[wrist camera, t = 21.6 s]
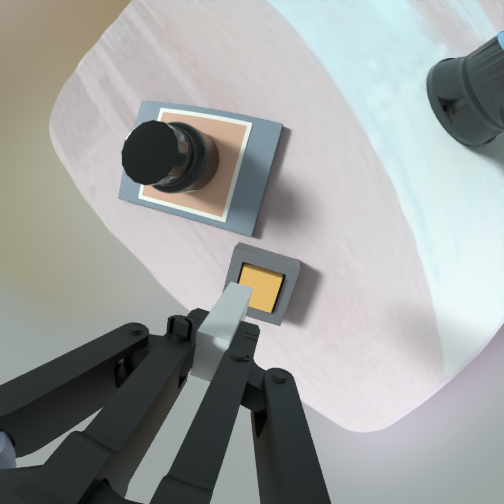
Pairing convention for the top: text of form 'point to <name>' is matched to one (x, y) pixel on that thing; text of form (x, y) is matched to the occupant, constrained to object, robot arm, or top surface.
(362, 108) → the top surface
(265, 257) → the button housing
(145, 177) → the ink bottle
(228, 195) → the picture board
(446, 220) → the top surface
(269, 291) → the button
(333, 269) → the top surface
